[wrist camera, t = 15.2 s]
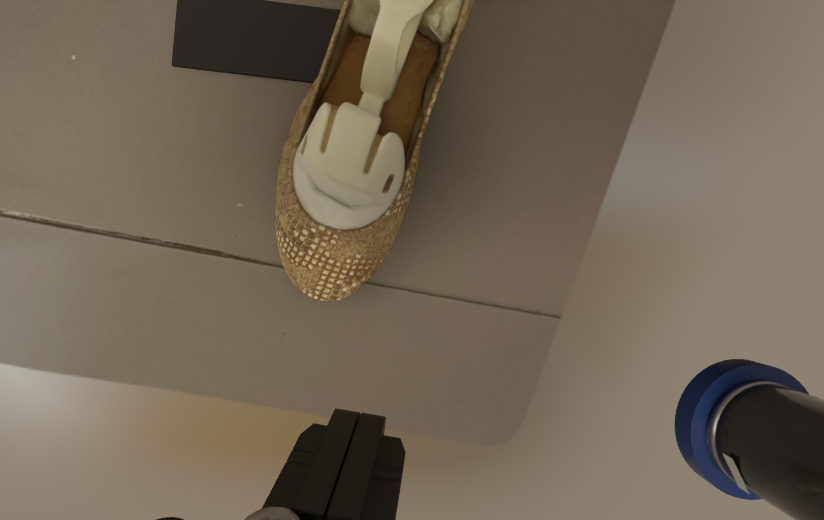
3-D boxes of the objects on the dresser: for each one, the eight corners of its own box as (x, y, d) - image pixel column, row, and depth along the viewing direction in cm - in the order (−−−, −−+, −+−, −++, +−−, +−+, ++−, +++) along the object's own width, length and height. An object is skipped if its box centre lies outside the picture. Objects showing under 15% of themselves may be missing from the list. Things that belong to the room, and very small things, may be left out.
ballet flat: (254, 278, 34) (202, 290, 25) (358, -84, 34) (348, -219, 24) (381, 313, 35) (381, 339, 25) (483, -40, 35) (524, -154, 25)
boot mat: (380, 17, 35) (380, 15, 35) (373, 90, 35) (373, 88, 35) (180, -9, 34) (178, -11, 34) (173, 66, 34) (171, 64, 34)
